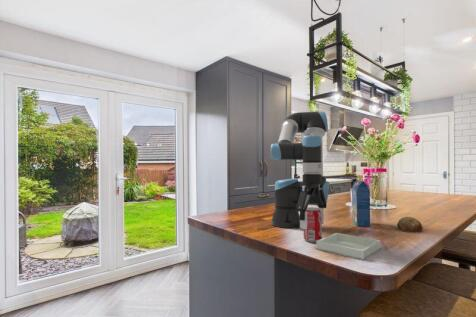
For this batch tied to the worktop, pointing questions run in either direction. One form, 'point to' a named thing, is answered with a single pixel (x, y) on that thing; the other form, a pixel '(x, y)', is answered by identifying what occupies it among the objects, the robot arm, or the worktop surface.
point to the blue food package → (360, 203)
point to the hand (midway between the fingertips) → (312, 226)
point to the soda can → (313, 225)
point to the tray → (348, 245)
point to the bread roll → (409, 225)
